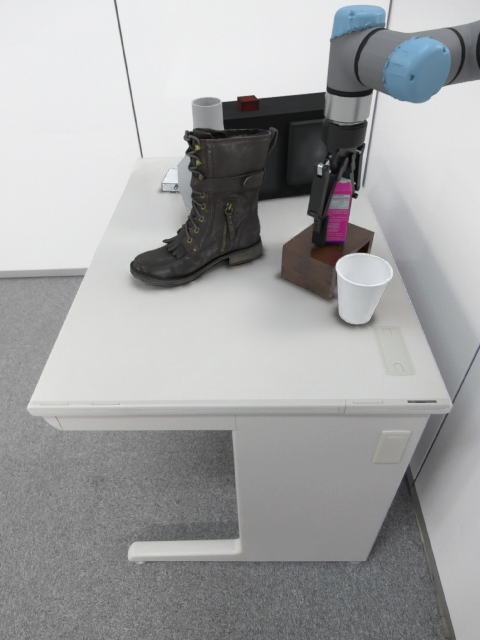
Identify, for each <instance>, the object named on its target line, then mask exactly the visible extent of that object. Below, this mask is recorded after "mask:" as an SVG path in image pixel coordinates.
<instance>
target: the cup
mask: <svg viewBox="0 0 480 640" xmlns="http://www.w3.org/2000/svg"><path fill="white" fill-rule="evenodd" d="M336 271H337V283H336V284H337V301H338V302H337V303H338V304H337V305H338V307H337V308H338V315H339V317H340V318H341V319H342V320H343V321H345V322H346V323H347V324H350V325H364V324H366V323H368V322H369V321H370V320H371V318H372V317H373V314H374V313H375V311H376V308H377V306H378V304H379V302H380V300H381V298H382V296H383V294H384V292H385V290H386V288H387V285H389V282H390V281H391V280H392V278H393V276H394V270H393V267H392V265H391V264H390V263H389V262H388V261H387V260H386V259H383V258H382V257H380V256H377V255H375V254H371V253H370V254H366V253H353V254H348V255H346V256H343V257H342V258H340V259H339V260H338V262H337V263H336Z"/></svg>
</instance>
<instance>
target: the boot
mask: <svg viewBox="0 0 480 640" xmlns="http://www.w3.org/2000/svg"><path fill="white" fill-rule="evenodd" d="M277 135H278V131H277V130H276V129H275V128H273V127H271V128H269V131H267V130H264V129H263V130H261V129H256V128H255V129H254V128H253V129H249V128H247V129H228V130H215V129H210V128H199V127H198V128H194V129H193V128H192V130H188V129H185V131H184V135H183V140H184V141H185V142H186V143H187V145H188V147H187V149H186V150H185V152H184V155H187V156H189V157H190V160H191V161H190V163H189V165H188V170H189V171H190V172H192V177H191V181H190V187H191V188H192V193H191V199H192V206H193V207H192V209H191V211H189V212H190V213H189V215H187V220H185V223H183V224H181V227H180V228H179V229H177V231H176V235H174V236H171V237H170V238H165V239H162V243H163V244H164V245H162V246H160V247H157V248H154V249H150V250H146V251H144V252H141V253H139V254H137V255H136V256H135V257H134V258H133V260H132V261H131V262H130V263H129V272H130V274H131V275H132V276H133V278H135V279H137V280H139V281H142V282H144V283H146V284H151V285H155V286H156V285H157V286H168V287H169V286H171V287H172V286H180V285H185V284H188V283H189V282H192V281H194V280H196V279H197V278H198V277H200V276H202V274H203V273H205V272H206V271H207V270H208V269H210V267H211V266H213V265H215V264H216V263H218V262H221V261H223V260H226V259H228V261H229V266H234V265H239V264H245V263H248V262H251V261H253V260H255V259H257V258H259V257H260V256H261V255H263V250H264V248H263V241H262V236H261V228H262V227H261V221H260V217H259V201H258V192H259V188H260V185H261V184H262V183H263V181H264V178H265V174H266V170H265V164H266V161H267V157H268V155H269V153H270V152H271V150H272V149H273V147H274V145H275V143H276V140H277Z"/></svg>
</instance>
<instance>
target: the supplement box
mask: <svg viewBox="0 0 480 640" xmlns="http://www.w3.org/2000/svg"><path fill="white" fill-rule="evenodd" d="M351 196H352V186H351V181H350V179H347V178H343V177H341V180H340V181H339V182H337V184H336V187H335V190H334V193H333V196H332V199H331V202H330V206H329V209H328V212H327V216H329V219H328V227H327V235H326V242H325V243H340V244H345V238H346V232H347V224H348V222H349V221H348V217H349V218H350V215H349V210H350V211H351V209H350V204H351V205H352V203H351Z"/></svg>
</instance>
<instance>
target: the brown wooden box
mask: <svg viewBox="0 0 480 640" xmlns="http://www.w3.org/2000/svg"><path fill="white" fill-rule="evenodd" d="M312 233H313V223H311V224H310V225H308V226H307V227H306V228H304V229H303V230H302V231H300V232H299V233H297V234H296V235H295V236H293V237H292V238H290V239H289V240H287V241H286V242H285V243H283V244H282V247H281V249H282V250H281V265H280V266H281V267H280V269H281V270H280V278H281V279H282V278H283V279H285V280H287V281H289V282H291V283H293V284H295V285H297V286H299V287H301V288H303V289H305V290H308V291H309V292H312V293H314V294H316V295H318V296H320V297H322V298H324V299H327V300H330V299H331V298H332V297H333V296H334V293H335V285H336V284H338V283H337V271H336V263H337V262H338V260H339V259H340V258H342V257H343V256H346V255H348V254H353V253H366V254H371V251H372V246H373V242H374V238H375V234H376V233H375V231H373V230H371V229H367V228H364V227H362V226H359V225H357V224H353V223H351V222H349V221H348V228H347V232H346V238H345V244H340V243H325V246H324V247H321V246H319V245H316V244H314V243H312Z"/></svg>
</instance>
